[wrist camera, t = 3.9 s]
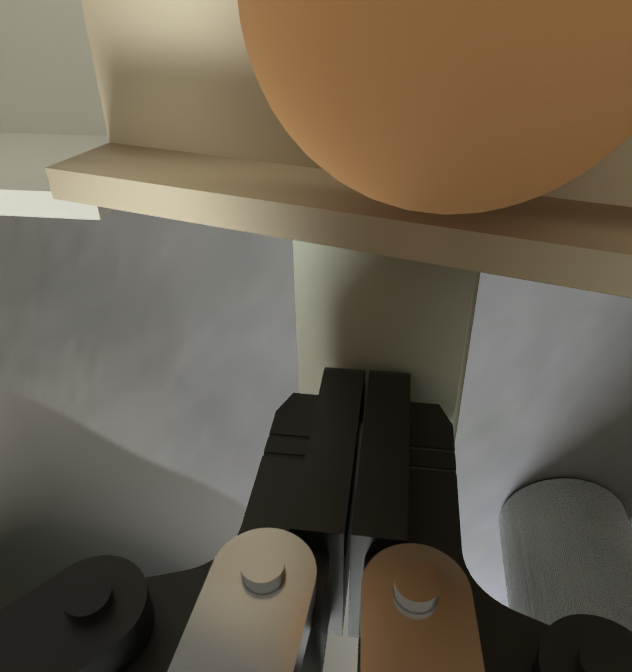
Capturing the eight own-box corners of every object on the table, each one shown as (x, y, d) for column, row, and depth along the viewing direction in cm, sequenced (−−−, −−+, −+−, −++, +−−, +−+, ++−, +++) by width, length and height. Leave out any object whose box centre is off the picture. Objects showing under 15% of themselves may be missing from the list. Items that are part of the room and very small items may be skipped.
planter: (491, 550, 24) (525, 879, 16) (506, 470, 22) (557, 809, 13) (610, 563, 24) (712, 913, 15) (639, 481, 21) (783, 846, 13)
